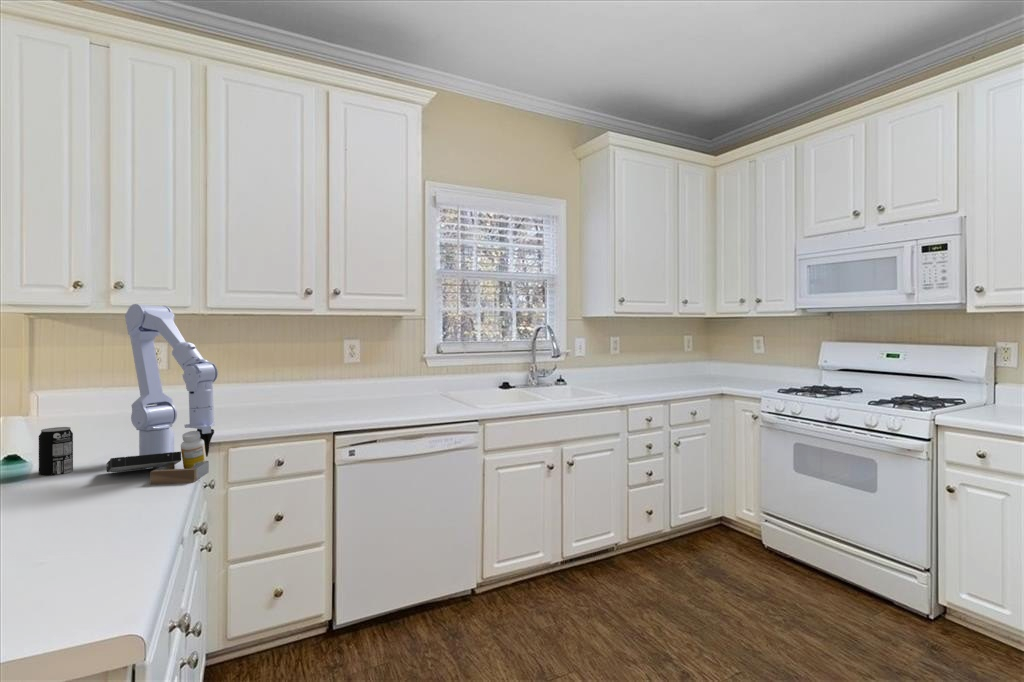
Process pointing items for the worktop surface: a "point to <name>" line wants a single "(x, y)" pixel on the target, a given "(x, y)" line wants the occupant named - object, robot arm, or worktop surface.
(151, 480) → the wood and metal frame
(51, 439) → the beverage can
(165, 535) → the worktop surface
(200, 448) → the supplement bottle
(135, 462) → the disk drive
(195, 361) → the robot arm
